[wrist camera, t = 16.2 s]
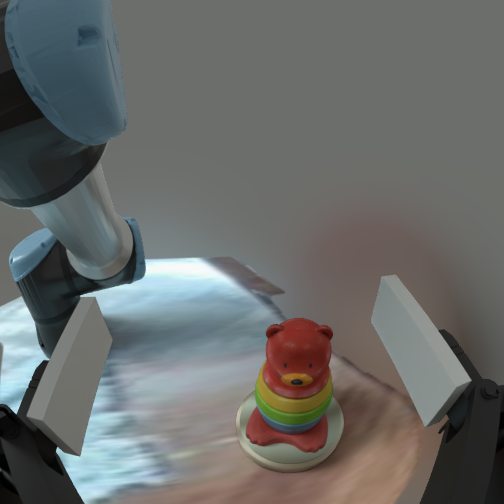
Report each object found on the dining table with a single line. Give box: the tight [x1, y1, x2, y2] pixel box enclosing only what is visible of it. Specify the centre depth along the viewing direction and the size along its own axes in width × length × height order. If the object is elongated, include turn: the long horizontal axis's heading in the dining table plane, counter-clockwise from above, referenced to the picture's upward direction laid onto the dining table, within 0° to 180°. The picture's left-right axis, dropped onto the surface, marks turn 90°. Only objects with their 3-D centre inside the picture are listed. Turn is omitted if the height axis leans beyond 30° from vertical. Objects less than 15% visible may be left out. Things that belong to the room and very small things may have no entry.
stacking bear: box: [246, 318, 333, 453], centre depth 32 cm, size 11×10×18 cm
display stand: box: [236, 390, 344, 473], centre depth 37 cm, size 15×15×3 cm
